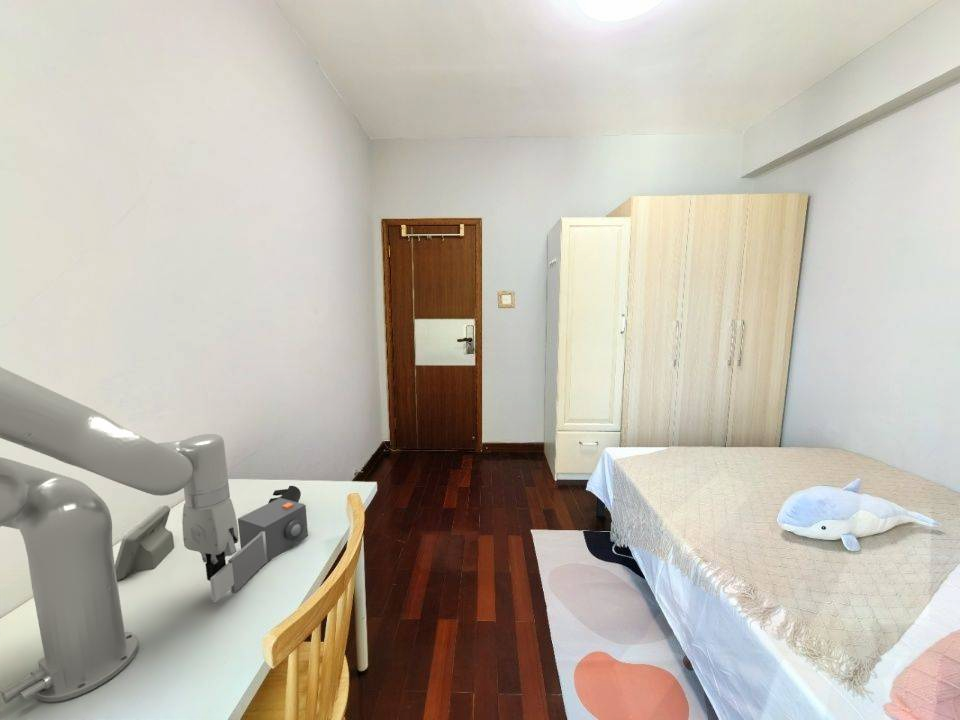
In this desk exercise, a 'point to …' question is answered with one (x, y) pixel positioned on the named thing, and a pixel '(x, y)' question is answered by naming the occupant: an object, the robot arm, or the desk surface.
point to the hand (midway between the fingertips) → (217, 576)
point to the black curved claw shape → (288, 494)
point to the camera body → (275, 525)
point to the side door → (240, 567)
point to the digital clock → (145, 544)
